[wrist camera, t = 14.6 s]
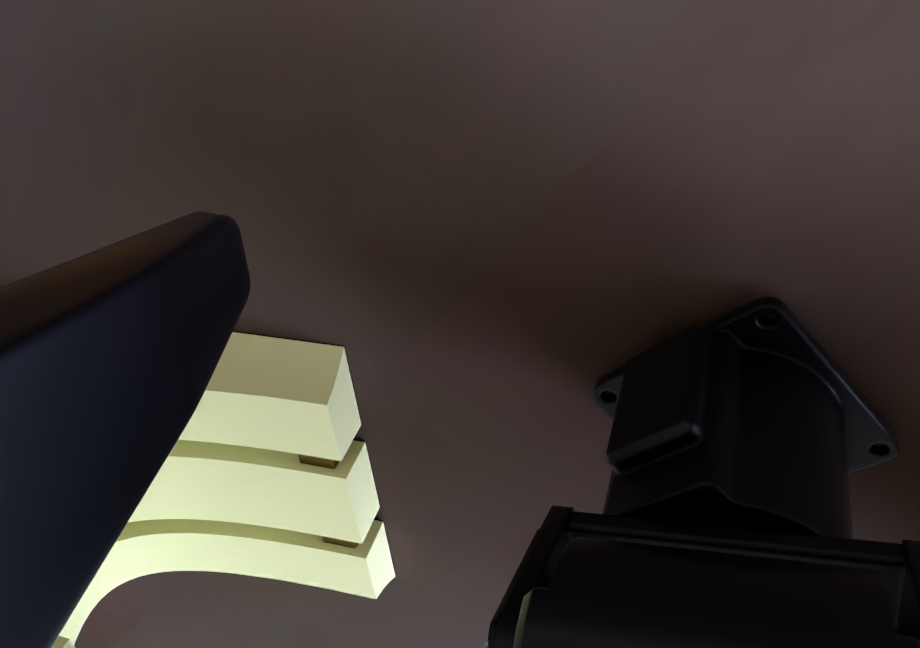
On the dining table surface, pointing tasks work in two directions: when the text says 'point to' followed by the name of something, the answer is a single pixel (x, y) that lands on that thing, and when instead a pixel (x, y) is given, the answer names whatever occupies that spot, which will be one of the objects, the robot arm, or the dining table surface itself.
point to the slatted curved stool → (260, 482)
